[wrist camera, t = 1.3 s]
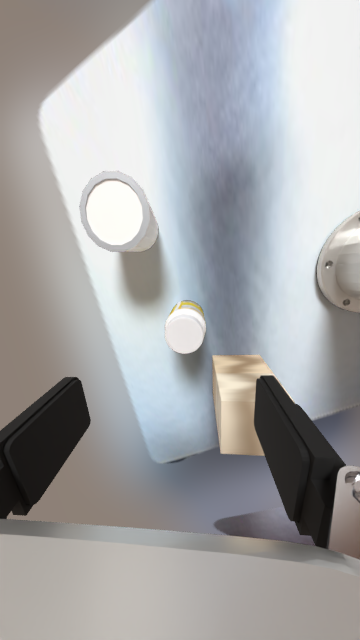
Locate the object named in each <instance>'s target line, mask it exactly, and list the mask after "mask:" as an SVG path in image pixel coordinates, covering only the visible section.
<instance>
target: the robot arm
mask: <svg viewBox="0 0 360 640" xmlns="http://www.w3.org/2000/svg"><path fill="white" fill-rule="evenodd" d="M325 264H326V265H325ZM317 279H318V284H319V287H320V289H321V291H322V293H323V295H324V296H325V297H326V298H327V299H328V300H329V301H330V302H331V303H332V304H334V305H335V306H337V307H339V308H342V309H345V310H348V311H352V312H358V313H360V211H358V212H356V213H354V214H353V215H351V216H350V217H348V218H347V219H345V220H344V221H343V222H342V223H341V224H340V225H339V226H338V227H337V228H336V229H335V230H334V231H333V233H332V234H331V235H330V236H329V237H328V239H327V241H326V243H325V244H324V246H323V248H322V251H321V253H320V256H319V259H318V265H317ZM89 425H90V416H89V412H88V407H87V403H86V399H85V396H84V392H83V387H82V384H81V381H80V380H79V379H78V378H77V377H65V378H63V379H62V380H61V381H60V382H59V383H57V384H56V385H55V386H54V387H53V388H51V389H50V390H49V391H48V392H47V393H45V394H44V395H43V396H42V397H40V398H39V399H38V400H37V401H36V402H34V403H33V404H32V405H31V406H30V407H28V408H27V409H26V410H25V411H24V412H22V413H21V414H20V415H19V416H18V417H16V418H15V419H14V420H13V421H12V422H10V423H9V424H8V425H7V426H6V427H4V428H3V429H2V430H1V431H0V640H360V467H356V466H346V464H345V463H344V462H343V461H342V459H341V458H340V457H339V455H338V454H337V453H336V452H335V450H334V449H333V448H332V446H331V445H330V444H329V443H328V441H327V440H326V439H325V438H324V436H323V435H322V434H321V432H320V431H319V430H318V428H317V427H316V426H315V425H314V423H313V422H312V421H311V419H310V418H309V417H308V415H307V414H306V413H305V412H304V410H303V409H302V408H301V407H300V406H299V405H297V404H295V403H294V402H293V401H292V399H291V398H290V397H289V395H288V394H287V393H286V391H285V390H284V389H283V387H282V386H281V385H280V383H279V382H278V381H277V379H276V378H275V377H274V376H273V375H261V376H260V378H257V380H256V393H255V409H254V427H255V431H256V433H257V436H258V439H259V441H260V444H261V447H262V449H263V452H264V455H265V457H266V460H267V463H268V465H269V468H270V470H271V473H272V476H273V478H274V481H275V484H276V486H277V489H278V491H279V494H280V497H281V499H282V502H283V505H284V507H285V510H286V513H287V515H288V517H289V519H290V520H291V521H295V523H296V526H297V528H298V531H299V533H300V535H310V536H312V539H313V541H314V543H315V545H316V546H311V545H305V544H299V543H293V542H287V541H277V540H267V539H258V538H248V537H238V536H228V535H216V534H202V533H191V532H178V531H166V530H152V529H140V528H127V527H113V526H99V525H84V524H71V523H57V522H42V521H27V520H11V519H7V516H8V514H9V513H10V512H11V511H12V513H13V515H27V513H28V512H29V511H30V509H31V508H32V506H33V505H34V504H36V503H37V502H38V501H39V500H40V498H41V497H42V495H43V494H44V492H45V491H46V489H47V488H48V486H49V485H50V483H51V482H52V481H53V479H54V477H55V476H56V474H57V473H58V472H59V470H60V469H61V467H62V466H63V464H64V463H65V461H66V460H67V458H68V457H69V455H70V454H71V452H72V451H73V449H74V448H75V446H76V445H77V443H78V442H79V440H80V438H81V437H82V436H83V434H84V433H85V432H86V430H87V429H88V427H89Z"/></svg>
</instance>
